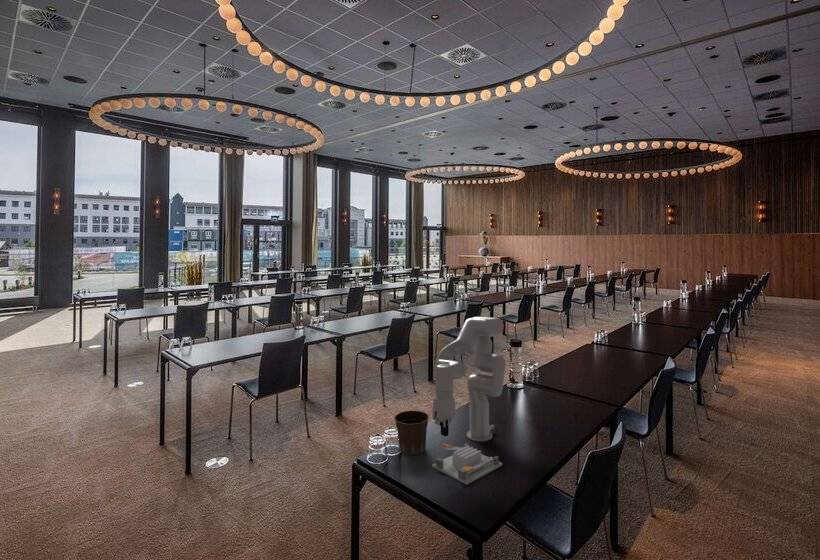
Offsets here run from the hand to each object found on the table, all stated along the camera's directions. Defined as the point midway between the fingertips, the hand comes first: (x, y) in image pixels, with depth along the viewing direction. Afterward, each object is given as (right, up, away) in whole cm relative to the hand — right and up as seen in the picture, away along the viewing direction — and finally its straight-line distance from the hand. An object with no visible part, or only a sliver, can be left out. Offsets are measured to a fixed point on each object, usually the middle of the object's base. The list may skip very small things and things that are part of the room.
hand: (444, 435), depth 194 cm
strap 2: (+14, -12, -4) cm, 19 cm away
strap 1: (+6, -9, +6) cm, 12 cm away
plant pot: (-14, -13, +17) cm, 26 cm away
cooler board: (+10, -14, +1) cm, 17 cm away
